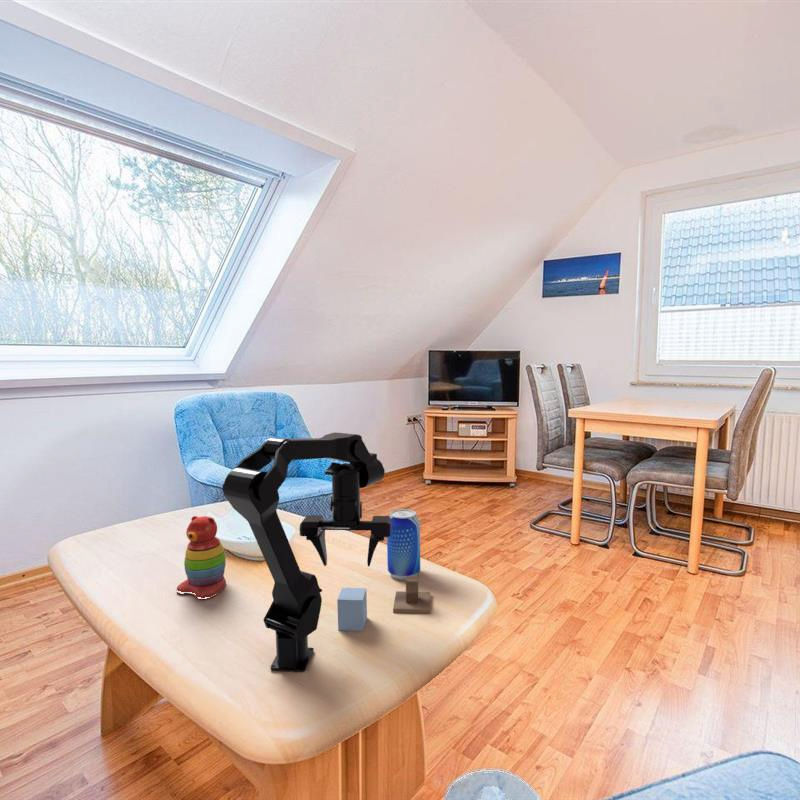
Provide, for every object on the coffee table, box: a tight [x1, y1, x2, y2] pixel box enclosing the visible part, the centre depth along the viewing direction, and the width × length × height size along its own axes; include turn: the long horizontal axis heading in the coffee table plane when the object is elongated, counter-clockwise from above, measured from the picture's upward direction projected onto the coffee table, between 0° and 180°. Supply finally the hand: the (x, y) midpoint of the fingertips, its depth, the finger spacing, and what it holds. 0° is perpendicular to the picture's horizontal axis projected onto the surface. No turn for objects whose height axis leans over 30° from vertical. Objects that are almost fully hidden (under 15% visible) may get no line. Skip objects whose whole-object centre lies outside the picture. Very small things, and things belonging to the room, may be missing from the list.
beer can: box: [386, 508, 421, 581], centre depth 127 cm, size 8×8×16 cm
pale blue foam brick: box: [336, 587, 368, 632], centre depth 104 cm, size 5×5×7 cm
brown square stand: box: [392, 575, 431, 614], centre depth 112 cm, size 8×8×6 cm
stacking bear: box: [176, 515, 227, 598], centre depth 121 cm, size 11×10×18 cm
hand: (347, 565), depth 105 cm, fingers open, 9 cm apart
